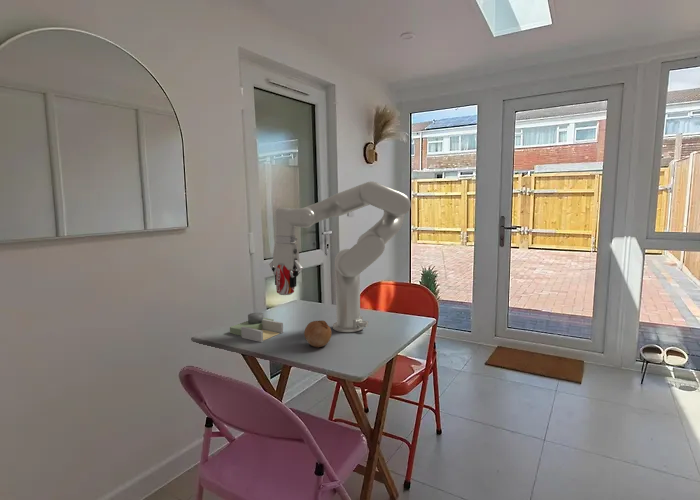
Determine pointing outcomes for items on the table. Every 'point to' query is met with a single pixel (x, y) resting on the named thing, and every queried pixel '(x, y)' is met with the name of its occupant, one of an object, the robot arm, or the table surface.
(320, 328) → the onion
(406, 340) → the table surface
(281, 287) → the soda can
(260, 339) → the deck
